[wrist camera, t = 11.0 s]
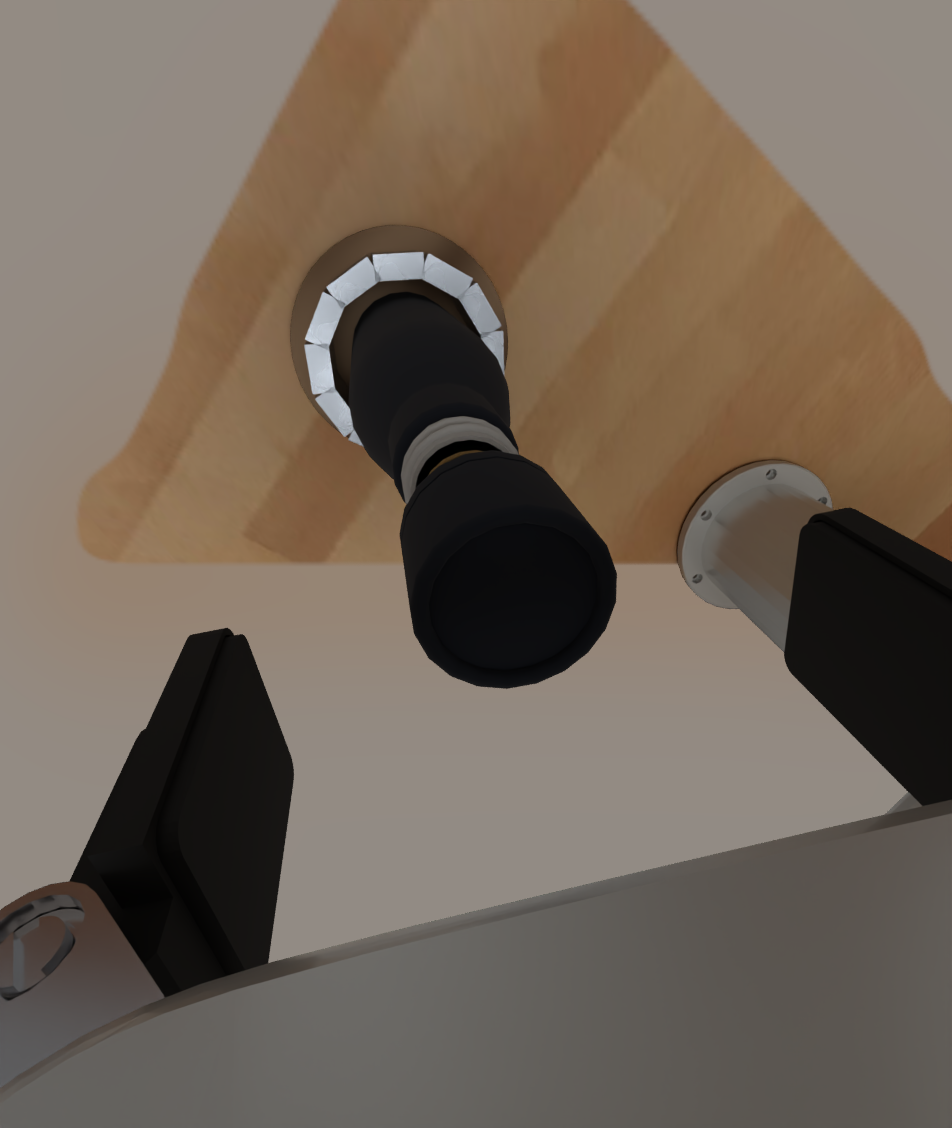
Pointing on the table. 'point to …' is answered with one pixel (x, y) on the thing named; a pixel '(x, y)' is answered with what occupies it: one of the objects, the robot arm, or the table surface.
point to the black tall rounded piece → (473, 504)
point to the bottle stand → (369, 274)
